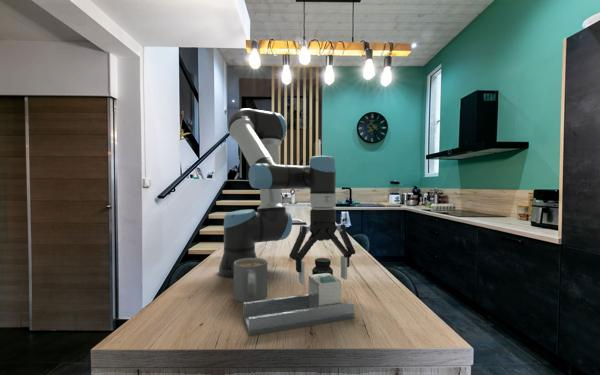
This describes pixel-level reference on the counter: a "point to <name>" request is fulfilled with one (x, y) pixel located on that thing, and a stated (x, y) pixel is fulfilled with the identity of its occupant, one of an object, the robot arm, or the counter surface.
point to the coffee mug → (250, 279)
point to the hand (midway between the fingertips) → (323, 280)
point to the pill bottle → (322, 266)
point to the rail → (299, 308)
